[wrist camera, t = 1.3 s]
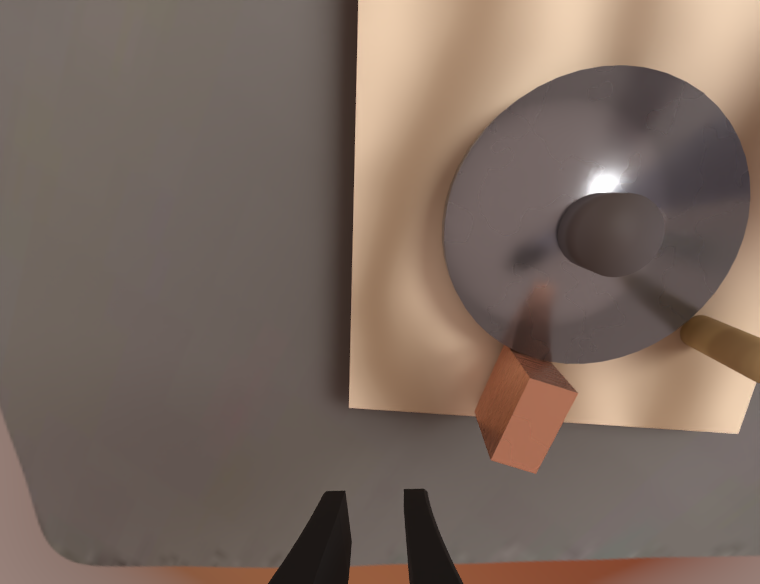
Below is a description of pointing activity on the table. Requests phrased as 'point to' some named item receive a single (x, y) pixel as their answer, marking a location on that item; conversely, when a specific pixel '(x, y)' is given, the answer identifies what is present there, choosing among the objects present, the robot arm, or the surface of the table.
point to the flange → (540, 235)
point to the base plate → (430, 139)
